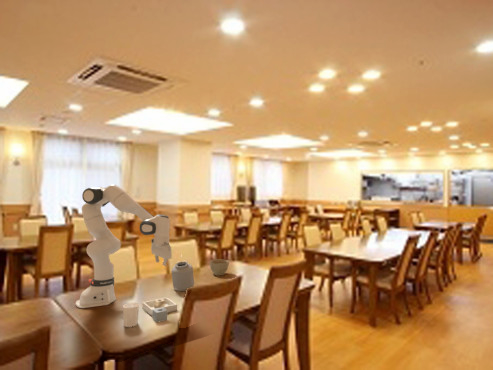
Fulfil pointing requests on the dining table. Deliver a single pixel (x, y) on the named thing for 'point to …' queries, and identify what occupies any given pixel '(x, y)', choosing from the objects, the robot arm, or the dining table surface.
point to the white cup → (130, 314)
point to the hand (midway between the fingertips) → (160, 263)
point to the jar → (182, 276)
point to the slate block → (159, 314)
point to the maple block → (159, 303)
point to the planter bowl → (219, 266)
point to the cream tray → (169, 307)
